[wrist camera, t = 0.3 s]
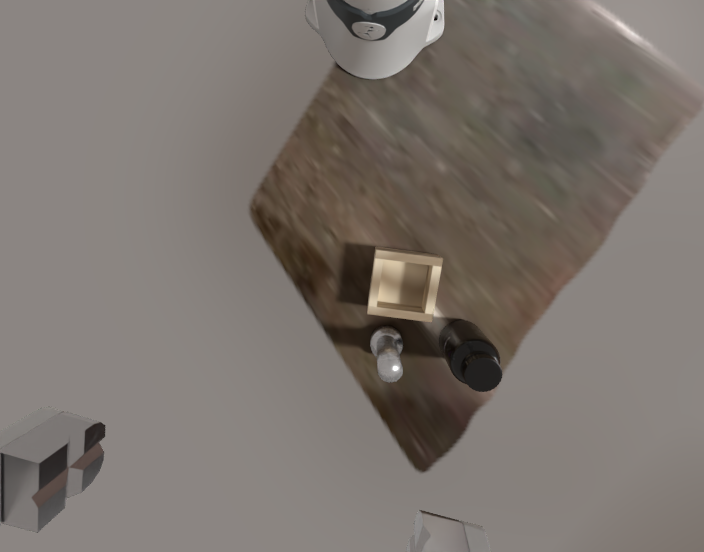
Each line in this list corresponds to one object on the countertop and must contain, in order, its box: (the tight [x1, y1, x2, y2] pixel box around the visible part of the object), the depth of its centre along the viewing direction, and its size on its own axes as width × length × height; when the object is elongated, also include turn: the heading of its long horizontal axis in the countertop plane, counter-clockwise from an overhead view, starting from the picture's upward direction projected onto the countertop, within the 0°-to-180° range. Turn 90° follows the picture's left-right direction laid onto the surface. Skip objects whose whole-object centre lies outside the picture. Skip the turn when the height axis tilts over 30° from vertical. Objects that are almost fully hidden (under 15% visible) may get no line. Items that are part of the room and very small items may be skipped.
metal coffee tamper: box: [370, 325, 403, 382], centre depth 52 cm, size 5×5×11 cm
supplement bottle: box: [439, 320, 502, 392], centre depth 51 cm, size 7×7×12 cm
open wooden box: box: [367, 247, 443, 322], centre depth 53 cm, size 9×9×4 cm
